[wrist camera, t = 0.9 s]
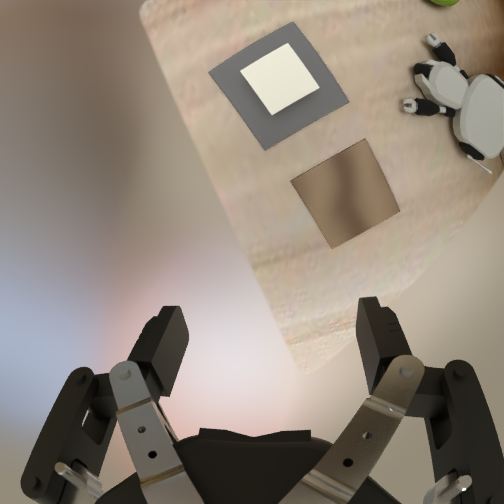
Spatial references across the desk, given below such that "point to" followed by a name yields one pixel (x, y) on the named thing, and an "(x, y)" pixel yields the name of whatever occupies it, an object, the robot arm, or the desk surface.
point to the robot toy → (461, 102)
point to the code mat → (295, 114)
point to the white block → (279, 78)
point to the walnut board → (347, 194)
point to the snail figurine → (445, 2)
